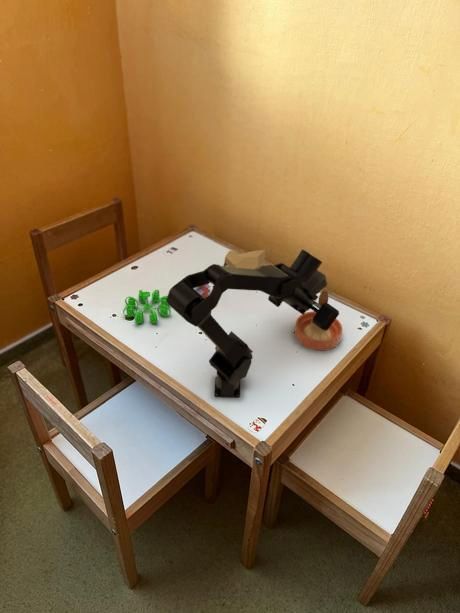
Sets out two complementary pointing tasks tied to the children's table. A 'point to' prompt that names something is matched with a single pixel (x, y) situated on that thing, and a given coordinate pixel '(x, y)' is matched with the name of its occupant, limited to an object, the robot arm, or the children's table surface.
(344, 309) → the children's table surface
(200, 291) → the geometric puzzle
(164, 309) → the chandelier
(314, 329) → the hand bell
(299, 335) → the bowl
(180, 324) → the children's table surface
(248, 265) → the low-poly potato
